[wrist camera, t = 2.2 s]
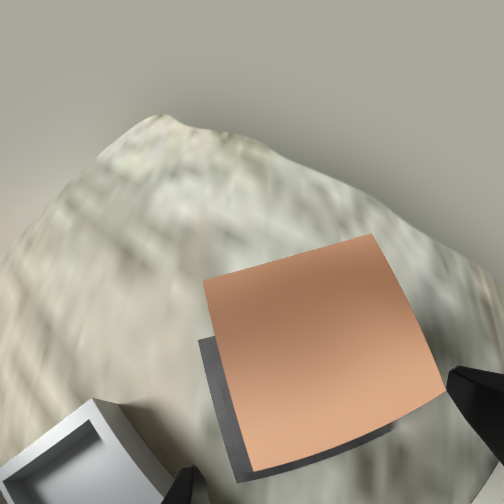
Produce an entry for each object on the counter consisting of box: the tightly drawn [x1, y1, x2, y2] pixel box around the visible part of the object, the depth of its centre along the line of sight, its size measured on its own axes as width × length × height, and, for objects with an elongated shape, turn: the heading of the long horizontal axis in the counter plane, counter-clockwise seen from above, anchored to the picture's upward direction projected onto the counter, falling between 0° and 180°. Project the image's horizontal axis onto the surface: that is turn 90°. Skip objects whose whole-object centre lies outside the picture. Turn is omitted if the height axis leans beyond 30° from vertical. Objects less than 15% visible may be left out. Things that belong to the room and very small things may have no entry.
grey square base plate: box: [198, 336, 390, 483], centre depth 16 cm, size 10×10×3 cm
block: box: [203, 233, 446, 471], centre depth 12 cm, size 5×5×12 cm
